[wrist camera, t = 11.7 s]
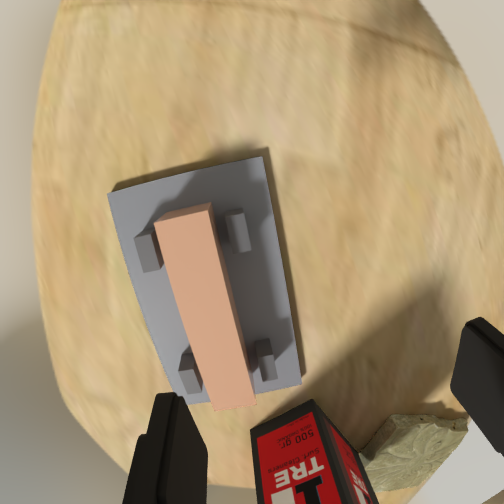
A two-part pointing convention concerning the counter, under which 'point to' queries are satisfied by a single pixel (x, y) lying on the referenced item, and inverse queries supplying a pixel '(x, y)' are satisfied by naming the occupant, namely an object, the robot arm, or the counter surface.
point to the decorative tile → (410, 449)
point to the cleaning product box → (307, 461)
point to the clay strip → (207, 303)
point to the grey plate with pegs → (237, 262)
